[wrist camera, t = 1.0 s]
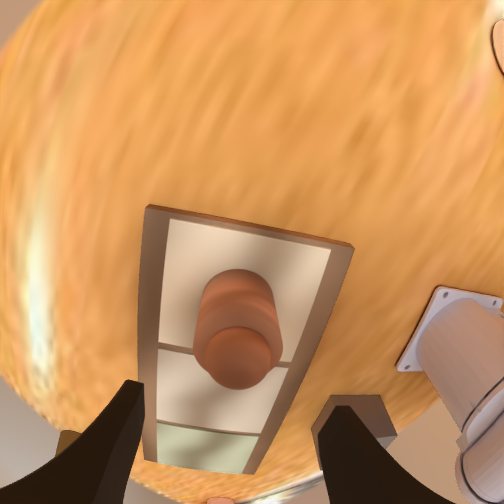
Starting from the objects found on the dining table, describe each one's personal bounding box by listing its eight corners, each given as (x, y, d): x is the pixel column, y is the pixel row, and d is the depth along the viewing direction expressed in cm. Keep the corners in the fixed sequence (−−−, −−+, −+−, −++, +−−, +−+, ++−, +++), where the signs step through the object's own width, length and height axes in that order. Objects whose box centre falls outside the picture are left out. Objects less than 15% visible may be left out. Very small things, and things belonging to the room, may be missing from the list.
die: (379, 394, 24) (398, 436, 19) (356, 426, 25) (370, 466, 21) (330, 394, 23) (345, 442, 18) (310, 427, 25) (320, 471, 20)
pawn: (281, 275, 17) (301, 349, 11) (264, 334, 19) (274, 414, 13) (207, 262, 17) (192, 334, 11) (197, 323, 18) (184, 403, 12)
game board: (350, 243, 18) (356, 249, 17) (253, 468, 28) (254, 476, 27) (149, 204, 16) (144, 208, 16) (145, 454, 26) (144, 461, 25)
